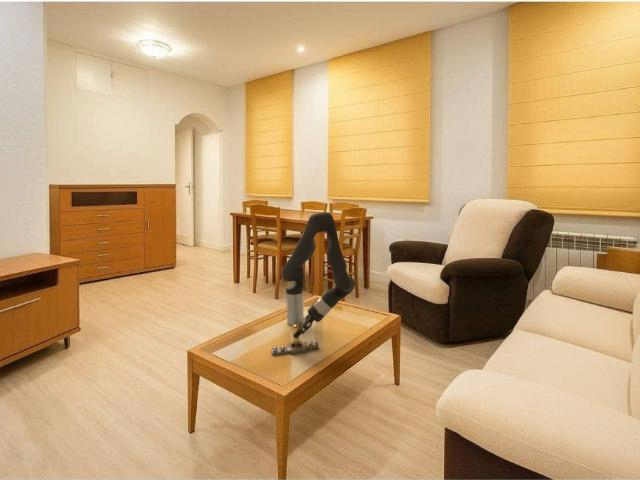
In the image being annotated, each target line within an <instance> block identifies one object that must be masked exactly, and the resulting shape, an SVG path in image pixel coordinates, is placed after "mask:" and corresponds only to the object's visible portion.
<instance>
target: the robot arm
mask: <svg viewBox="0 0 640 480" xmlns="http://www.w3.org/2000/svg"><path fill="white" fill-rule="evenodd" d="M319 233H326V234H327V236H328V246H327V257H326V258H327V260H328V263H329V265H330V268H331V271H332V276H333V281H334V284H335V286H334V287H333V288H330V289H328V290H327V291H326V292H325V293H324V294H322V296H321V297H319V298H318V299H316V301H315V302H314V303H313V304H312V305H311V306H310V307H309V308H308V309H307V315H306V316H304V314H305V313H304V294H303V292H304V291H303V290H304V279H305V278H304V275H305V273H304V268H303V264H305V263H306V262H308V261H309V260H310V259H311V257H312V256H313V254H314V253H315V250H316V242H315V239H314V238H315V237H316V235H318V234H319ZM347 268H348V265H347V262H346V260H345V257H344V255H343V253H342V249H341V245H340V240H339V236H338V231H337V226H336V223H335V219H334V217H333V215H332V214H331V212H328V211H327V212H326V211H323V212H314V213H312V214H311V215H310V216H309V218H308V220H307V222H306V225H305V228H304V231H303V233H302V235H301V237H300V239H299V240H298V242H297V244H296V246H295V247H294V250H293V252H292V254H291V255H290V257H289V258H288V260H287V261H286V262H285V264H284V266H283V267H282V270H281V277H282V279H283V281H285V282H292V283H291V284H290V285H288V286H287V287H286V289H285V297H286V322H287V324H288V325H289V324H290V326H292V325H293V324H299V330H298V331H297V332H296V333H295V334H294V335H293V334H292V337H293V336H294V337H295V338H296V339H297V338H298V337H299V336H302V335H304V334H305V333H306V332H307V331H308V330H309V329H310V328H311V327H312V326H313V324H314V321H315V322H316V323H320V322H321V321H322V320H323V319H324V318H325V317H326V316H327V315H329V313H330V312H331V310H332V309H333V308H334V307H335V306H336V305H337V304H338V303H339V302H341V300H343V299H344V298H345V297H347V296H348V295H349V294H351V293H352V291H354V289H355V286H356V282H355V279H354V278H352V277H351V276H349V275H348V274H349V273H348V271H347Z"/></svg>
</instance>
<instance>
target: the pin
mask: <svg viewBox="0 0 640 480" xmlns="http://www.w3.org/2000/svg"><path fill="white" fill-rule="evenodd" d="M291 326H292V327H291V329H292V330H291V331H292V342H293V348H296V347H300V341H301V337H300V336H301V335H300V336H299V337H298V338H297V339H296V338H295V337H294V336H293V335H294V334H295V333H296V332H297V331H298V330H299V324H293V325H291Z"/></svg>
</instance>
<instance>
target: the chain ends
mask: <svg viewBox="0 0 640 480" xmlns="http://www.w3.org/2000/svg"><path fill="white" fill-rule="evenodd" d="M286 346H287V347H286ZM286 346H285V345H284V344H283V345H282V344H281V345H280V347H279V348H278V347H277V345H276V346H272V349H270V352H271V356H272V357H274V356H278V355H286V354H290V355H291V356H292V355H299V354H304V353H305V354H306V353H307V351H314V350H319V349H320V347H319V346H320V345H319V340H313V341H311V340H309V341H306V342H303V341H301V340H300V347H296V348H293V341H291V342H287V343H286Z"/></svg>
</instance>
